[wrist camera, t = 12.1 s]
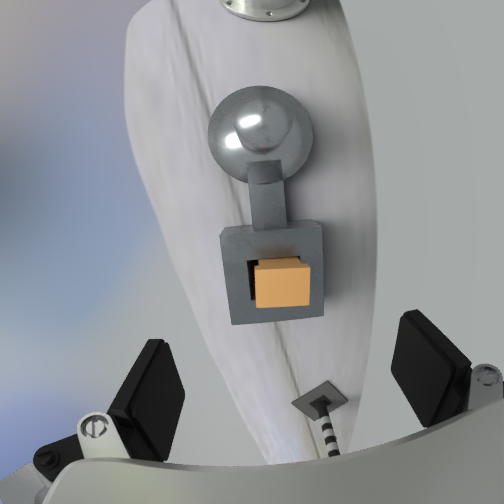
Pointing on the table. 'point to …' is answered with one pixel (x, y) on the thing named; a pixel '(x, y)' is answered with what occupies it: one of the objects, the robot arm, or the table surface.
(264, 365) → the table surface
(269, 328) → the table surface
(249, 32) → the table surface
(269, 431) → the table surface
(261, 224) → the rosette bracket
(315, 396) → the miniature traffic light
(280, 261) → the tan flared block
